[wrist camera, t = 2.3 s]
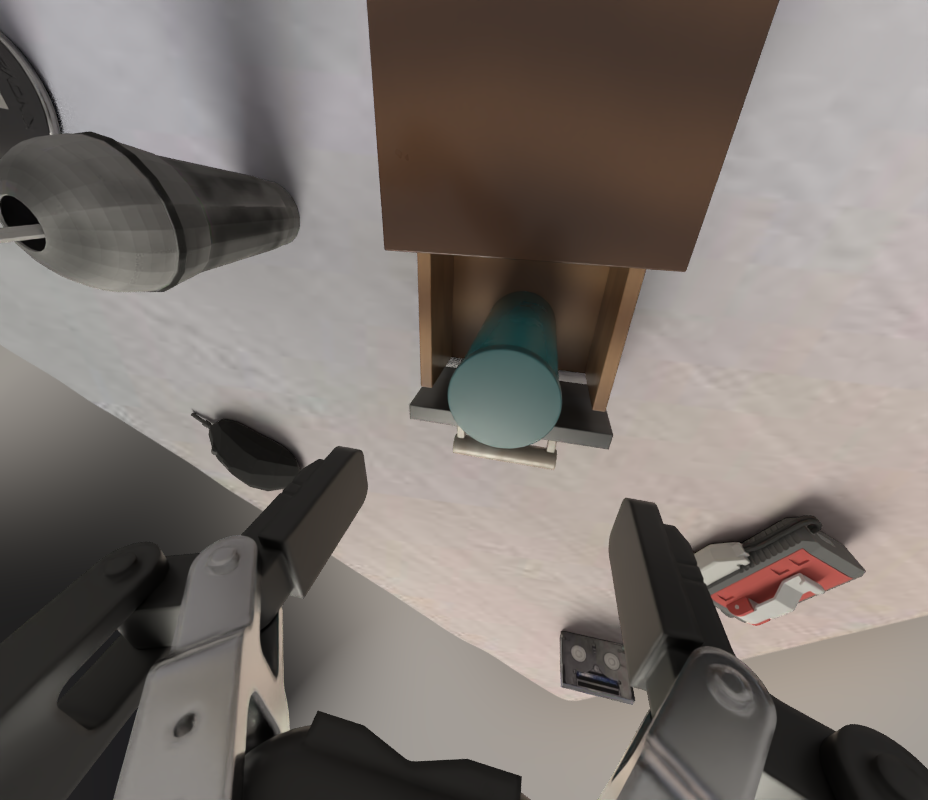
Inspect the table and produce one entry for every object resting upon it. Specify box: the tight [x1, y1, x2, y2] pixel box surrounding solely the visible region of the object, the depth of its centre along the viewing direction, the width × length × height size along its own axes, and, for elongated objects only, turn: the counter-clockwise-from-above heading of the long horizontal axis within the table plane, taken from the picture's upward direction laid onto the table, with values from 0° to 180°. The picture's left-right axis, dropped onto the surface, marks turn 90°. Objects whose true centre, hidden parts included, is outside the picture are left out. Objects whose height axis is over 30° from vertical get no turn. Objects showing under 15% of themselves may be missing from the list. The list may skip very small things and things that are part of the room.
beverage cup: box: [0, 132, 299, 292], centre depth 19 cm, size 7×7×20 cm
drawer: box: [410, 253, 646, 470], centre depth 24 cm, size 19×14×7 cm
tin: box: [448, 291, 562, 449], centre depth 21 cm, size 5×5×12 cm
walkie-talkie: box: [694, 516, 866, 626], centre depth 34 cm, size 9×4×20 cm
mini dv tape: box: [560, 631, 635, 705], centre depth 44 cm, size 8×2×6 cm, turn 89°
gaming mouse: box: [191, 413, 301, 491], centre depth 40 cm, size 6×15×4 cm, turn 61°
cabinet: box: [367, 0, 779, 272], centre depth 17 cm, size 16×15×9 cm
